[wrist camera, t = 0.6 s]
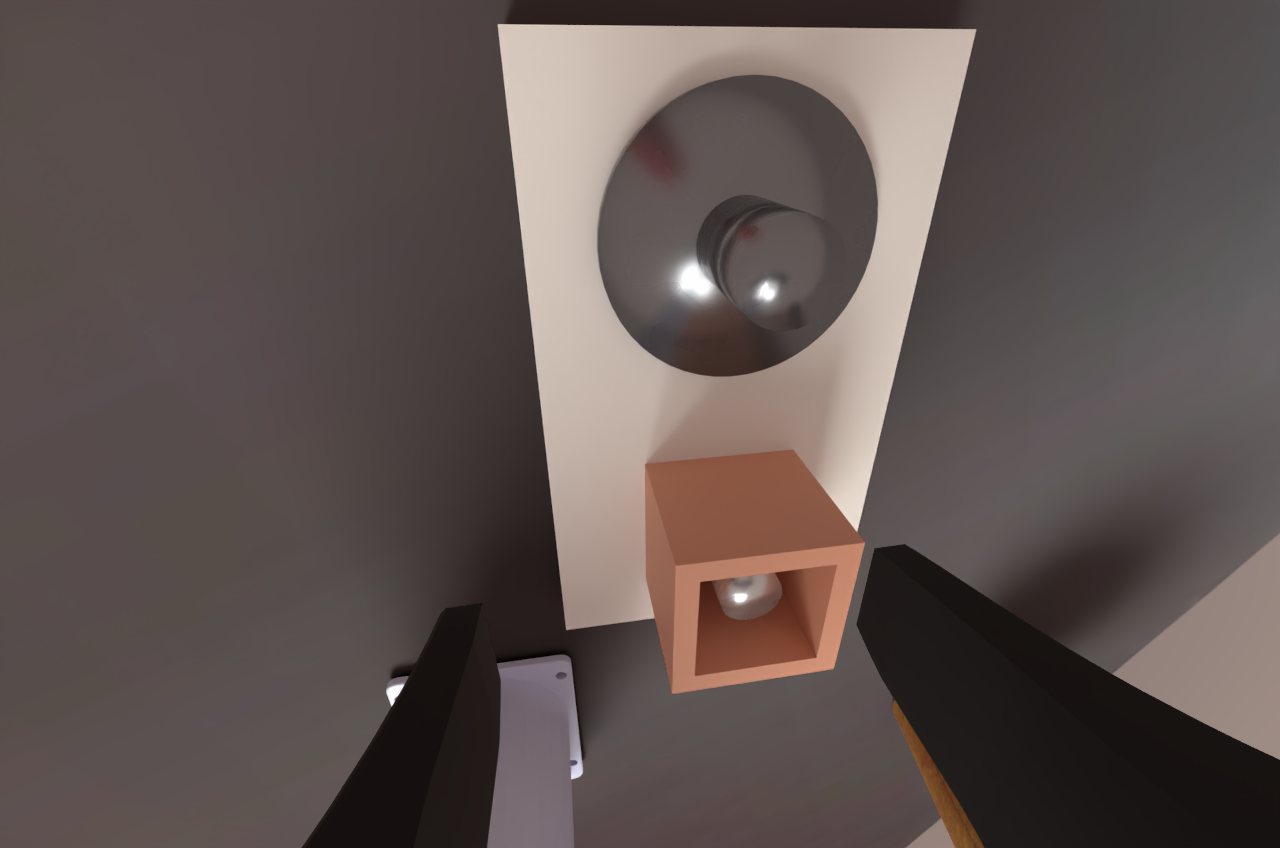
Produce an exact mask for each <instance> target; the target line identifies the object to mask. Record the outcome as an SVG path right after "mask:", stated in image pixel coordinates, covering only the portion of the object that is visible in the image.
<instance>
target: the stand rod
mask: <svg viewBox="0 0 1280 848" xmlns="http://www.w3.org/2000/svg"><path fill="white" fill-rule="evenodd" d="M711 581H712V584H713V586H714V589H715V592H716V595H717V597H718V600H719V603H720V605H721V608H722V610H723V612H724V613H725V614H726V615H727V616H729V617H731V618H733V619H737V620H750V619H754V618H758V617H760V616H762V615H764V614H766V613H768V612H769V611H771V610H772V609H773V608H774V607H775V606H776V605H777V603H778V602H779V600H780V598H781V596H782V586H781V583H780V582H779V580H778V578H777V576H776V574H775V572H774V573H766V574H758V575H751V576H743V577H735V578H727V579H719V580H711Z"/></svg>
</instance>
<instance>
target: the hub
mask: <svg viewBox="0 0 1280 848" xmlns="http://www.w3.org/2000/svg"><path fill="white" fill-rule="evenodd" d="M877 221H878V197H877V187H876V180H875V176H874V171H873V167H872V163H871V160H870V158H869V155H868V153H867V150H866V147H865V145H864V143H863V141H862V140H861V138H860V136H859V134H858V132H857V131H856V129H855V127H854V126H853V125H852V124H851V122H850V121H849V120H848V118H847V117H846V116H845V115H844V113H843V112H842V111H841V110H839V109H838V108H837V107H836V106H835V105H834V104H833V103H832V102H831V101H830V100H829V99H827V98H826V97H824V96H823V95H821V94H819V93H818V92H816V91H815V90H813V89H812V88H809V87H807V86H805V85H802V84H800V83H798V82H796V81H792V80H788V79H785V78H781V77H777V76H767V75H755V74H754V75H742V76H733V77H728V78H724V79H720V80H716V81H712V82H708V83H705V84H703V85H700V86H698V87H696V88H693V89H691V90H688V91H686V92H685V93H683V94H681V95H680V96H678V97H676V98H675V99H673V100H671V101H669V102H668V103H667V104H666V105H664V106H663V107H662V108H661V109H659V110H658V111H657V112H656V113H654V114H653V115H652V116H651V117H650V118H649V119H648V120H647V121H646V122H645V123H644V124H643V125H642V126H641V127H640V128H639V129H638V130H637V132H636V133H635V134H634V136H633V137H632V138H631V140H630V141H629V142H628V144H627V145H626V146H625V148H624V149H623V151H622V153H621V155H620V156H619V158H618V160H617V162H616V164H615V165H614V167H613V170H612V172H611V174H610V177H609V179H608V182H607V184H606V187H605V190H604V194H603V198H602V201H601V205H600V210H599V217H598V224H597V255H598V264H599V270H600V274H601V278H602V282H603V285H604V288H605V291H606V293H607V296H608V298H609V301H610V303H611V306H612V308H613V310H614V312H615V313H616V315H617V317H618V319H619V321H620V322H621V324H622V325H623V326H624V328H625V329H626V330H627V332H628V333H629V334H630V336H631V337H632V338H633V339H634V340H635V341H636V342H637V343H638V344H639V345H640V346H641V347H642V348H644V349H645V350H646V351H648V352H649V353H650V354H651V355H653V356H654V357H655V358H657V359H659V360H661V361H663V362H664V363H666V364H668V365H670V366H672V367H675V368H677V369H680V370H682V371H686V372H690V373H694V374H698V375H704V376H713V377H730V376H738V375H746V374H750V373H754V372H758V371H762V370H765V369H767V368H770V367H772V366H775V365H778V364H780V363H782V362H784V361H786V360H787V359H789V358H791V357H793V356H795V355H796V354H798V353H799V352H801V351H802V350H804V349H805V348H807V347H808V346H809V345H811V344H812V343H813V342H814V341H815V340H817V339H818V338H819V337H820V336H821V335H822V334H823V333H824V332H825V331H826V330H827V329H828V328H829V327H830V326H831V325H832V324H833V323H834V322H835V321H836V319H837V318H838V317H839V316H840V314H841V313H842V312H843V311H844V309H845V308H846V306H847V305H848V303H849V302H850V300H851V299H852V297H853V295H854V294H855V292H856V290H857V288H858V286H859V284H860V282H861V280H862V278H863V276H864V274H865V271H866V268H867V265H868V263H869V260H870V257H871V253H872V249H873V245H874V241H875V236H876V228H877Z"/></svg>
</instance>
